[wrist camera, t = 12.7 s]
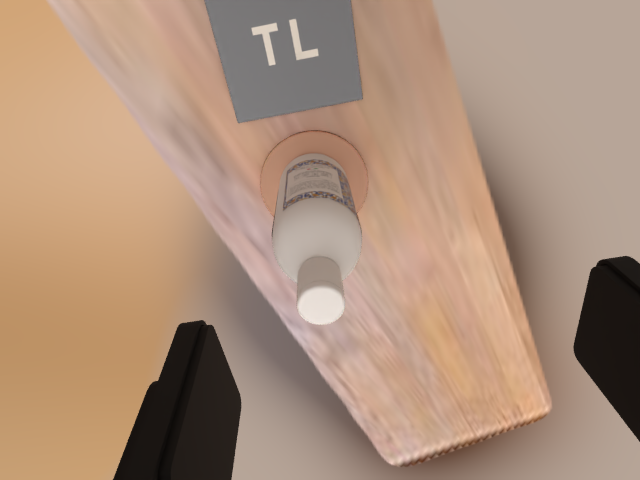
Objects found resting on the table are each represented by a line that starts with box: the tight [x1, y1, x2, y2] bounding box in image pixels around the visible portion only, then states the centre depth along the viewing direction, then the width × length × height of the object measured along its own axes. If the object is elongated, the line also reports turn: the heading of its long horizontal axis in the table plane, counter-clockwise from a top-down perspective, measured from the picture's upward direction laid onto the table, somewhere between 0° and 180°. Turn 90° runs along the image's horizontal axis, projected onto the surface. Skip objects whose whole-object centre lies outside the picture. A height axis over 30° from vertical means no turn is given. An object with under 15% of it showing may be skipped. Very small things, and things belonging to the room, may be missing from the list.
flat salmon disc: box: [260, 131, 368, 216], centre depth 42 cm, size 11×11×1 cm
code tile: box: [204, 0, 363, 123], centre depth 36 cm, size 12×12×1 cm
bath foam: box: [272, 153, 362, 325], centre depth 33 cm, size 7×7×20 cm
